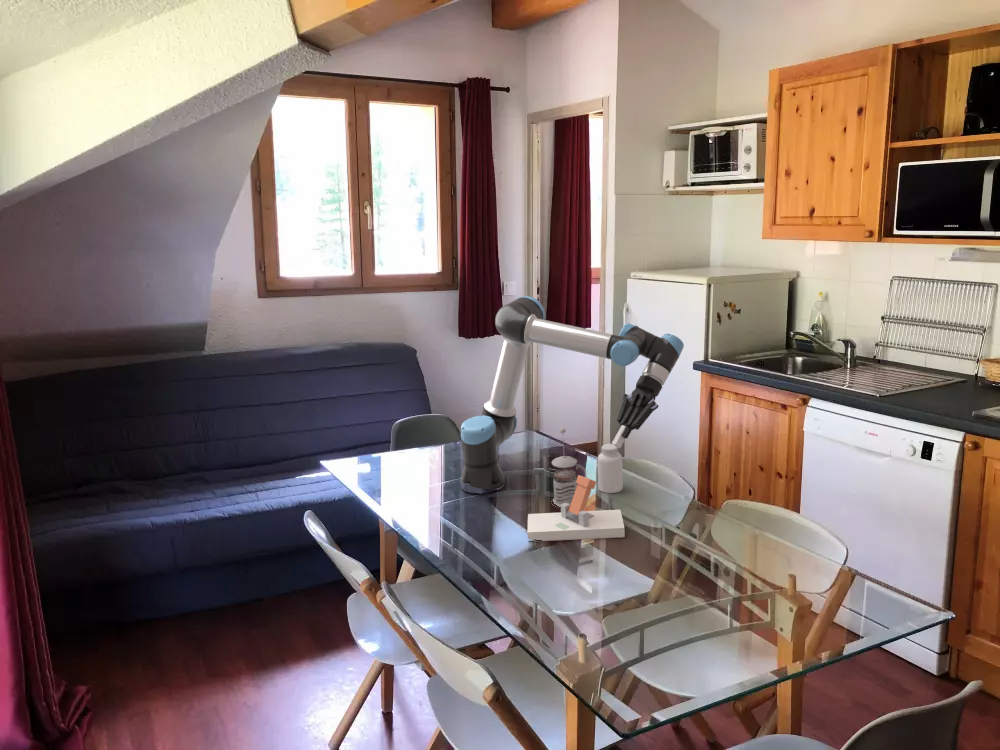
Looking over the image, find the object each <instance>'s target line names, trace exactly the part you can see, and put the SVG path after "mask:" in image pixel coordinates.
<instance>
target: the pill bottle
mask: <svg viewBox="0 0 1000 750" xmlns="http://www.w3.org/2000/svg"><path fill="white" fill-rule="evenodd" d="M623 473H624V472H623V456H622V455H621V453H620V452H619V448H617V447H616V446H614V445H613V444H612V443H605V444H603V445H602V446H601V453H599V454H598V456H597V474H598V476H597V477H598V480H597V481H598V490H600V492H602V493H604V494H616V493H620V492H621V491H622V490H623V488H624V482H623V481H624V480H623V479H624V477H623Z"/></svg>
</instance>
